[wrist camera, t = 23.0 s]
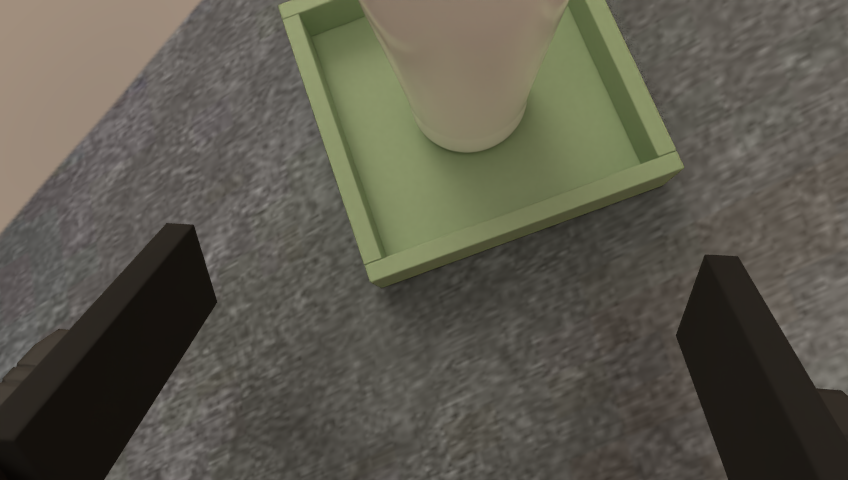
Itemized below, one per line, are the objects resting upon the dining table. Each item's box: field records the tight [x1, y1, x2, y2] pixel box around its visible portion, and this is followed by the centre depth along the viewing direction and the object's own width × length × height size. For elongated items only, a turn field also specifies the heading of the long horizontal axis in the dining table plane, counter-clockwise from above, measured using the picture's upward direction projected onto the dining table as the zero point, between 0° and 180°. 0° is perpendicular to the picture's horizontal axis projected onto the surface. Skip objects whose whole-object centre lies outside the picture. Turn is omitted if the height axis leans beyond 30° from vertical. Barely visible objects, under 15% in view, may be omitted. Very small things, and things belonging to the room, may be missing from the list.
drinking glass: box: [357, 0, 569, 153], centre depth 18 cm, size 7×7×15 cm
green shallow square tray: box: [278, 0, 684, 288], centre depth 25 cm, size 14×14×3 cm
